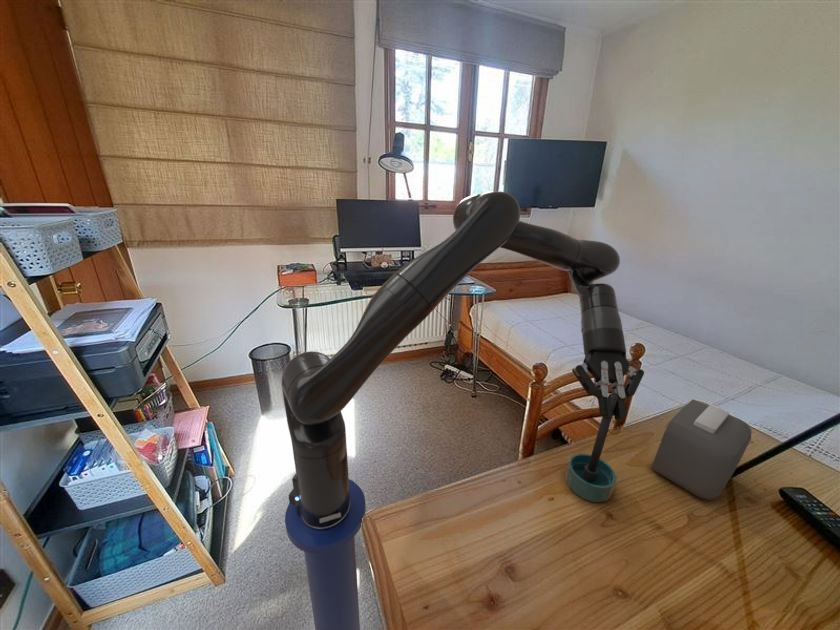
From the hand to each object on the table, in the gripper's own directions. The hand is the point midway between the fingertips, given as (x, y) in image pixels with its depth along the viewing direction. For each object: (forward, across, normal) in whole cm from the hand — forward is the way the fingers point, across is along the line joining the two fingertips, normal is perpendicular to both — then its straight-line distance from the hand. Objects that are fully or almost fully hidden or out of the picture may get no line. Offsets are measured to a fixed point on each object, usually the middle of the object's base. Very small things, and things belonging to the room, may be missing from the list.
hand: (613, 418), depth 63 cm
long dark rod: (+11, 0, +14) cm, 17 cm away
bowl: (+12, 0, +15) cm, 19 cm away
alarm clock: (+8, +25, +20) cm, 33 cm away
